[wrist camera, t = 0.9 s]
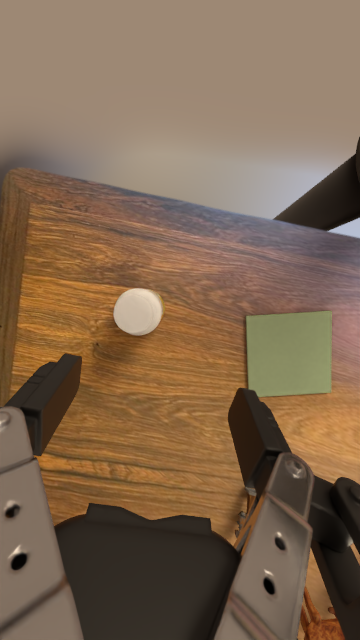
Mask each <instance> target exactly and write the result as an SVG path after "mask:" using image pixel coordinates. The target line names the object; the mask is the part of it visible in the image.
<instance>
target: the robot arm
mask: <svg viewBox="0 0 360 640" xmlns="http://www.w3.org/2000/svg"><path fill="white" fill-rule="evenodd" d="M81 364H82V357H81V356H76V355H71V354H66V353H65V354H64V355H63V356H62V357H61V358H60V360H59V361H58V362H57V363H55V362H49V363H47V364H45V365H43V366H41V367H40V368H39V369H38V370H37V371H36V372H35V373H34V374H33V376H31V377H30V378H29V380H28V381H27V382H26V383H25V384H24V385H23V386H22V387H21V388H20V389H19V390H18V391H17V393H16V394H15V395H14V396H13V397H12V398H11V399H10V400H9V401H8V402H7V403H6V404H5V406H4V407H0V640H298V638H297V636H298V629H299V622H300V615H301V608H302V602H303V595H304V588H305V581H306V574H307V567H308V560H309V554H310V547H311V549H312V551H313V554H314V557H315V560H316V562H317V565H318V568H319V570H320V573H321V576H322V578H323V581H324V584H325V587H326V589H327V592H328V595H329V597H330V600H331V603H332V605H333V608H334V611H335V614H336V616H337V619H338V622H339V624H340V627H341V630H342V632H343V635H344V638H345V640H360V565H359V563H358V561H357V559H356V557H355V555H354V553H353V551H352V549H351V547H350V545H351V544H352V543H354V544H355V546H356V548H357V550H358V552H359V554H360V485H359V484H358V483H356V482H355V481H353V480H351V479H349V478H345V477H340V478H338V479H337V480H336V482H335V483H334V484H332V483H330V482H328V481H326V480H323V479H321V478H319V477H317V476H315V475H314V474H313V472H312V470H311V469H310V467H309V466H308V465H307V463H306V462H305V461H303V460H302V459H301V458H300V457H298V456H297V455H295V454H292V452H291V450H290V448H289V446H288V444H287V442H286V440H285V438H284V436H283V434H282V432H281V430H280V428H278V424H277V422H276V420H275V418H274V416H273V414H272V412H271V410H270V409H269V408H268V407H267V406H266V405H265V403H264V402H261V401H260V400H259V398H258V396H257V394H256V392H255V391H254V390H251V389H245V388H239V389H238V390H237V392H236V395H235V397H234V400H233V402H232V404H231V407H230V409H229V413H228V423H229V427H230V431H231V434H232V438H233V442H234V446H235V450H236V454H237V458H238V461H239V465H240V469H241V473H242V477H243V481H244V485H245V487H249V488H255V490H256V493H257V494H256V496H255V498H254V500H253V502H252V504H251V507H250V509H249V512H248V514H247V516H246V519H245V521H244V524H243V526H242V528H241V531H240V533H239V535H238V538H237V540H236V542H235V544H234V546H232V545H231V544H230V543H229V542H228V541H227V540H226V539H225V538H223V537H222V536H221V535H219V534H217V533H216V532H214V531H212V530H211V521H210V518H203V517H195V516H187V515H178V516H173V517H167V518H162V519H157V520H148V519H146V518H144V517H141V516H139V515H137V514H135V513H133V512H130V511H128V510H126V509H124V508H122V507H117V506H109V505H102V504H94V503H89V506H88V509H87V512H86V514H83V515H78V516H75V517H72V518H69V519H67V520H65V521H63V522H61V523H59V524H57V525H56V526H54V525H53V521H52V517H51V513H50V509H49V505H48V501H47V496H46V492H45V488H44V484H43V480H42V476H41V472H40V467H39V463H38V460H37V458H36V457H35V458H34V456H33V455H36V456H41V455H42V453H43V451H44V450H45V448H46V446H47V444H48V443H49V441H50V439H51V437H52V436H53V434H54V432H55V430H56V429H57V427H58V425H59V423H60V422H61V420H62V418H63V416H64V415H65V413H66V411H67V409H68V408H69V406H70V404H71V402H72V401H73V399H74V397H75V395H76V393H77V391H78V388H79V383H80V374H81Z"/></svg>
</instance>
